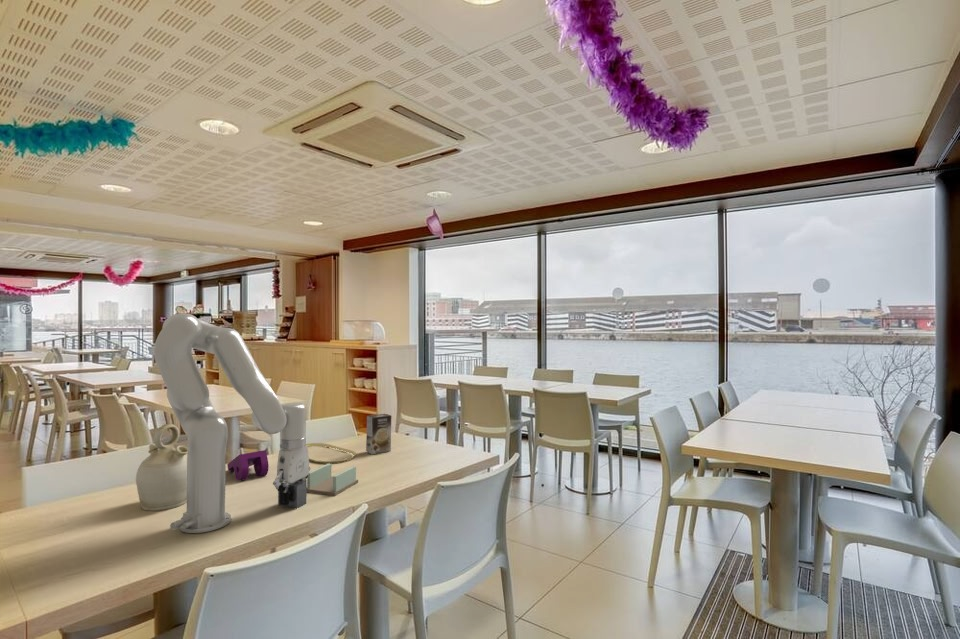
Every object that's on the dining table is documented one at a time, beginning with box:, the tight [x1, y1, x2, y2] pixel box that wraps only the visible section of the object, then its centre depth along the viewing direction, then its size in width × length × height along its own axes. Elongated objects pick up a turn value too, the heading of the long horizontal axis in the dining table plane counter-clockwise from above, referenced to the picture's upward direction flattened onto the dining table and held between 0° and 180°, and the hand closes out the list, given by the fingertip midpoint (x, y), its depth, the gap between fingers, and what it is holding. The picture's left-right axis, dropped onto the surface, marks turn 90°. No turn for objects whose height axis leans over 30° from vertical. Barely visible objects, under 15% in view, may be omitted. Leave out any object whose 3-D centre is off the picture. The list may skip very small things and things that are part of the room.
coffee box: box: [365, 413, 392, 455], centre depth 214 cm, size 9×6×16 cm
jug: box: [135, 423, 188, 512], centre depth 152 cm, size 15×16×25 cm
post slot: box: [306, 463, 359, 497], centre depth 168 cm, size 14×12×6 cm
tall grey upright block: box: [277, 481, 307, 510], centre depth 151 cm, size 4×7×7 cm, turn 72°
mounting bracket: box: [226, 449, 270, 481], centre depth 181 cm, size 10×8×18 cm
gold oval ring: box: [306, 442, 357, 464], centre depth 209 cm, size 19×35×2 cm, turn 52°
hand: (292, 499), depth 151 cm, fingers open, 6 cm apart
